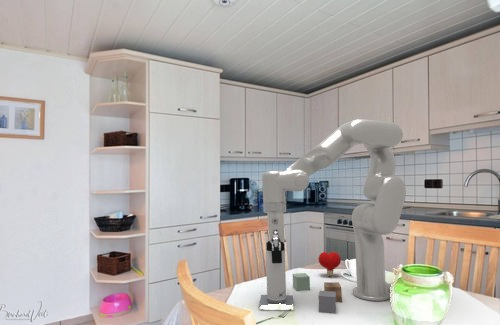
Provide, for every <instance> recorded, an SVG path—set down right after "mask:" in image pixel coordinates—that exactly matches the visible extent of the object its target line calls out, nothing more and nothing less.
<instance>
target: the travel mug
mask: <svg viewBox="0 0 500 325" xmlns="http://www.w3.org/2000/svg"><path fill="white" fill-rule="evenodd" d="M280 242H281V241H280ZM286 242H287V239H285V242H284V243H283V242H281V243H280V244H281V250H282V263H272V243H270V240H268V241H266V243H265V245H266V247H265V248H266V249H265V251H266V252H265V256H266V260H265V261H266V295H267V301H268V302H269V303H272V304H279V303H281V304H282V303H284V302H286V295H287V282H286V281H287V279H286V278H287V277H286V248H285V246H286V245H285V243H286Z"/></svg>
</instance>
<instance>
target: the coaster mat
mask: <svg viewBox="0 0 500 325" xmlns="http://www.w3.org/2000/svg"><path fill="white" fill-rule="evenodd" d="M259 298H260V299H259V304H258V307H259V306H261V305H268V304H272V303H269V302H268V301H267V294H261V295H260V297H259ZM294 302H295V301H294V295H291V294H286V302H284V303H282V304H286V305H292V304H294ZM294 305H295V304H294Z"/></svg>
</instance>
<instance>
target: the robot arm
mask: <svg viewBox="0 0 500 325" xmlns="http://www.w3.org/2000/svg"><path fill="white" fill-rule="evenodd" d="M403 137H404V132H403V130H402V127H400V125H398V124H397V123H396V122H393V121H384V120H375V119H364V118H357V119H353V120H351V121H348V122H345V123H343V124H341V125H340V126H339V127H337V128H336V129H335V130H334V131H333V132H331V133H330V134H329V135H327V137H325V138H324V139H323V140H322V141H321V142H319V143H318V144H316V146H315V147H313V148H312V149H310V150H309V151H308V152H306V153H305V154H304V155H302V156H301V157H299V158H298V159H297V160H296V161H294V162H293V163H292V164H291V165H290V166H288V167H287V168H286V169H285V170H284V171H281V170H269V171H267V170H266V171H264V172H262V176H261V181H262V182H261V184H262V200H263V202H262V204H263V213H265V214H267V215H266V216H267V228H268V237H269V238H268V239H269V241H270V243H272V263H282V250H281V244H280V243H281V242H283V243H284V244H285V243H286V242H285V240H286V237H285V234H286V233H285V219H284V218H285V216H284V213H286V212H287V204H286V192H295V193H298V192H303V191H304V190H306V189H307V187H309V185H310V177H311V175H313V174H315V173H317V172H319V171H321V170H324V169H326V168H328V167H331V165H332V166H333V164H335V163H336V162H337V161H338V160H339V159H340V158H342V156H344V155H345V154H346V153H347V152H348V151H350V150H351V149H352V148H353V147H355V146H358V145H362V144H363V146H364V148H366V150H367V152H368V154H369V156H370V163H369V168H368V171H367V175H366V178H365V181H364V184H363V190H362V191H363V192H362V193H363V195H364V197H365V199H367V200H369V201H372V202H375V203H374V204H373V203H371V204H370V203H362V204H359V205H358V206H356V207H355V208H354V209H353V210H352V212H351V214H352V215H351V223H352V224H351V225H352V227H353V233H354V235H353V236H354V242H355V243H354V245H355V267H356V268H355V270H356V273H355V274H356V286H355V287H353V288H352V294H353V296H354V297H356V298H359V299H362V300H367V301H372V302H373V301H374V302H376V301H377V302H378V301H379V302H380V301H387V300H389V299H391V297H390V293H391V292H390V287H391V284H392V282H391V283H388V282H387V281H386V267H385V266H386V265H385V262H386V261H385V243H384V239H383V235H384V236H386V235H390V234H391V233H393V232H394V231H395V230H396V229H397V227H398V225H399V222H400V218H401V214H402V211H403V207H404V203H405V199H406V195H407V188H406V184H405V182H404V181H403V180H402V178H401V177H399V176H397V175H395V171H396V170H395V169H396V163H397V161H396V157H395V154H394V152H393V150H392V149H391V148H393V147H396V146H397V145H399V144H400V143H401V142H402V141H403ZM280 241H281V242H280Z"/></svg>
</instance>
